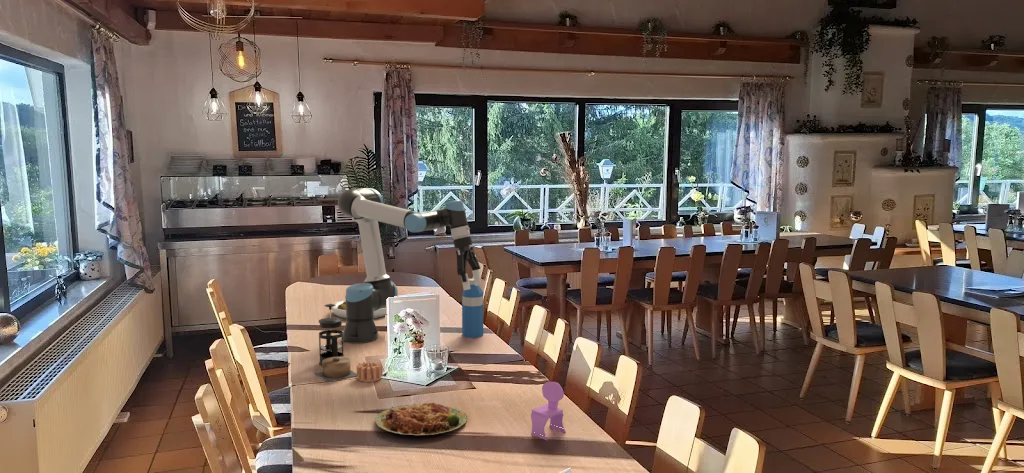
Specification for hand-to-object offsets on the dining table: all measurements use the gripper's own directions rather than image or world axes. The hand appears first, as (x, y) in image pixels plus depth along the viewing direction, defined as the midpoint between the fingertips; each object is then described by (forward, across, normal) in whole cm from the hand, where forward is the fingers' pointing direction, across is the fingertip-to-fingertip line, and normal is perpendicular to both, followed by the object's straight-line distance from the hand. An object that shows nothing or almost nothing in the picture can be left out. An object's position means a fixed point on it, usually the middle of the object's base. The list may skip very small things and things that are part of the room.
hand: (473, 287), depth 300 cm
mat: (+18, -49, +40) cm, 66 cm away
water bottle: (+22, +18, +12) cm, 31 cm away
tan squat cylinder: (+18, -49, +40) cm, 66 cm away
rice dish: (+32, -82, -6) cm, 88 cm away
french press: (+15, -38, +49) cm, 64 cm away
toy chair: (+42, -79, -43) cm, 99 cm away
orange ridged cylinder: (+21, -50, +27) cm, 61 cm away
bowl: (+5, +40, +76) cm, 86 cm away
